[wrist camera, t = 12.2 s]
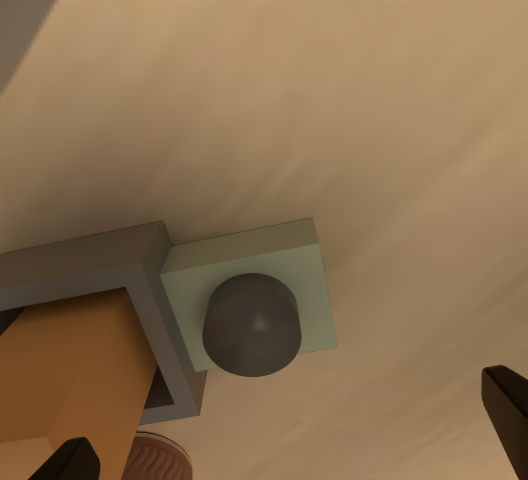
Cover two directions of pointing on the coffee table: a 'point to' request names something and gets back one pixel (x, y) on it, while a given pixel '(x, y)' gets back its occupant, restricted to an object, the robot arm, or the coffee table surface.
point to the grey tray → (191, 299)
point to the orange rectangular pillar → (73, 381)
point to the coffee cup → (156, 460)
